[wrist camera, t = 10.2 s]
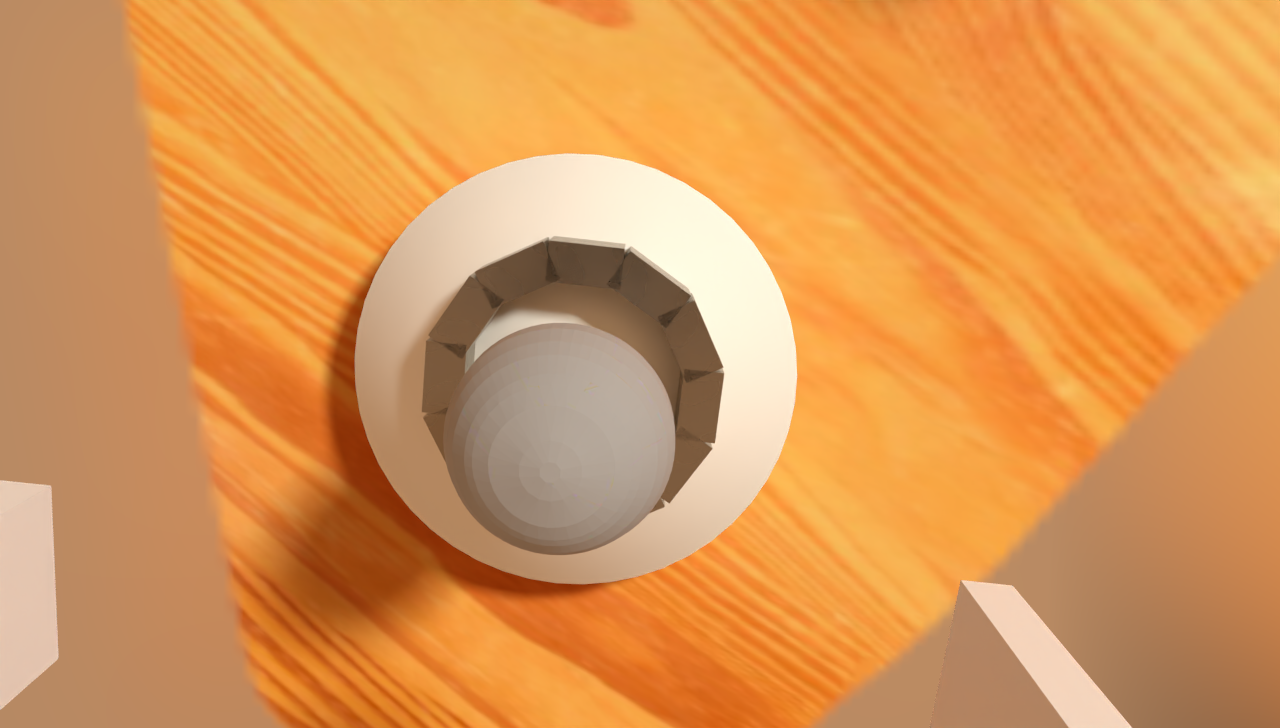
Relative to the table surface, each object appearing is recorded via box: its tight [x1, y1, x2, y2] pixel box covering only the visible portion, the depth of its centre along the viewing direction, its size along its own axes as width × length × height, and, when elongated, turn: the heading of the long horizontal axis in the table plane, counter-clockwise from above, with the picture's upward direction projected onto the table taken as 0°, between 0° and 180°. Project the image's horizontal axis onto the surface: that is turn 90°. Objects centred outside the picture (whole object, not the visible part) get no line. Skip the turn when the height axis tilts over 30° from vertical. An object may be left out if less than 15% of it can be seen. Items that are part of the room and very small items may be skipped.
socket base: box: [355, 154, 797, 584], centre depth 30 cm, size 14×14×2 cm
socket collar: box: [422, 236, 724, 513], centre depth 28 cm, size 9×9×2 cm
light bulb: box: [443, 323, 675, 555], centre depth 24 cm, size 5×6×10 cm
